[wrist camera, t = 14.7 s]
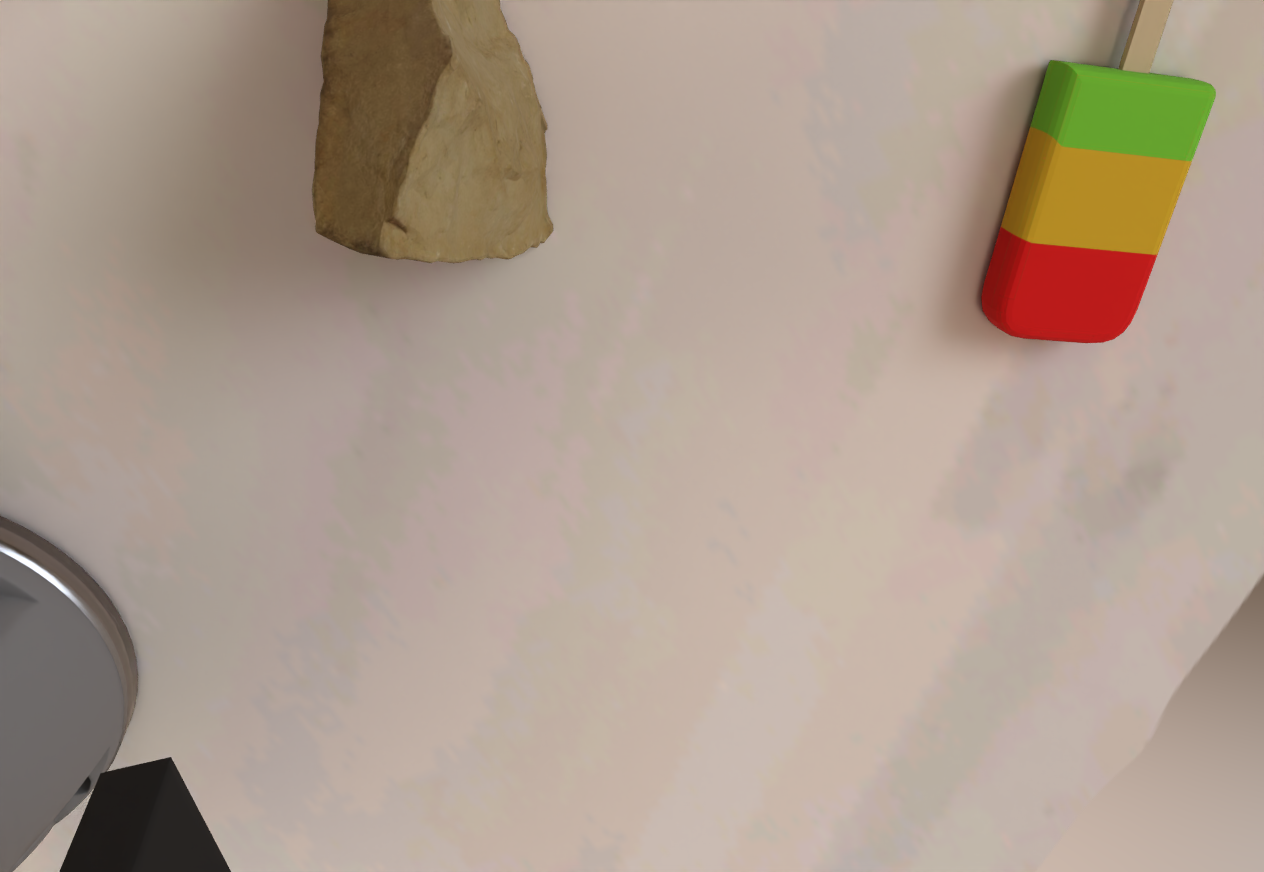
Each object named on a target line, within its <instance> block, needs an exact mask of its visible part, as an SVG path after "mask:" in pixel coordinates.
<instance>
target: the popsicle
mask: <svg viewBox="0 0 1264 872" xmlns="http://www.w3.org/2000/svg"><path fill="white" fill-rule="evenodd" d="M1172 3H1173V0H1140V3H1139V6H1138V9H1137V12H1136V15H1135V18H1134V21H1133V24H1132V28H1131V31H1130V34H1129V37H1128V40H1127V43H1126V46H1125V49H1124V52H1123V55H1122V58H1121V62H1120V65H1119V68H1118V69H1116V68H1108V67H1100V66H1093V65H1085V64H1078V63H1070V62H1063V61H1055V60H1050V62H1049V65H1048V68H1047V71H1046V75H1045V78H1044V82H1043V85H1042V88H1041V92H1040V95H1039V98H1038V102H1037V105H1036V109H1035V112H1034V115H1033V119H1032V122H1031V126H1030V129H1029V132H1028V136H1027V139H1026V143H1025V146H1024V149H1023V153H1022V156H1021V159H1020V163H1019V166H1018V170H1017V173H1016V176H1015V180H1014V183H1013V187H1012V190H1011V193H1010V197H1009V200H1008V204H1007V207H1006V210H1005V214H1004V217H1003V220H1002V224H1001V227H1000V231H999V234H998V238H997V241H996V244H995V248H994V251H993V254H992V258H991V261H990V265H989V268H988V271H987V275H986V278H985V282H984V286H983V291H982V297H981V299H982V309H983V312H984V314H985V315H986V317H987V318H988V320H989V321H990V322H991V323H992V324H993V325H995V326H996V327H997V328H999V329H1000V330H1002V331H1004V332H1005V333H1007V334H1009V335H1011V336H1015V337H1020V338H1026V339H1039V340H1052V341H1065V342H1078V343H1101V342H1106V341H1109V340H1112V339H1115V338H1116V337H1117V336H1119V335H1120V334H1122V333H1123V332H1124V331H1125V330H1126V328H1127V327H1128V326H1129V324H1130V323H1131V321H1132V319H1133V317H1134V315H1135V313H1136V311H1137V309H1138V306H1139V303H1140V301H1141V298H1142V295H1143V292H1144V290H1145V287H1146V284H1147V282H1148V279H1149V276H1150V273H1151V271H1152V268H1153V265H1154V263H1155V260H1156V257H1157V254H1158V252H1159V249H1160V246H1161V244H1162V241H1163V238H1164V235H1165V233H1166V230H1167V227H1168V225H1169V222H1170V219H1171V216H1172V214H1173V211H1174V208H1175V205H1176V203H1177V200H1178V197H1179V195H1180V192H1181V189H1182V186H1183V184H1184V181H1185V178H1186V176H1187V173H1188V170H1189V167H1190V165H1191V162H1192V159H1193V156H1194V154H1195V151H1196V148H1197V146H1198V143H1199V140H1200V137H1201V135H1202V132H1203V129H1204V127H1205V124H1206V121H1207V118H1208V116H1209V113H1210V110H1211V108H1212V105H1213V102H1214V99H1215V96H1216V91H1215V89H1214V87H1213V86H1212V85H1211V84H1208V83H1206V82H1203V81H1199V80H1195V79H1191V78H1183V77H1176V76H1168V75H1161V74H1153V73H1149V72H1150V69H1151V66H1152V63H1153V60H1154V57H1155V54H1156V51H1157V48H1158V45H1159V42H1160V39H1161V36H1162V33H1163V30H1164V27H1165V24H1166V21H1167V18H1168V15H1169V12H1170V9H1171V6H1172Z"/></svg>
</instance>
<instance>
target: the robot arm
mask: <svg viewBox="0 0 1264 872" xmlns="http://www.w3.org/2000/svg"><path fill="white" fill-rule="evenodd" d="M137 692H138V669H137V661H136V656H135V652H134V648H133V644H132V641H131V639H130V636H129V633H128V631H127V628H126V626H125V624H124V622H123V620H122V619H121V617H120V615H119V613H118V611H117V610H116V608H115V607H114V605H113V604H112V602H111V601H110V599H109V598H108V596H107V595H106V594H105V593H104V591H103V590H102V589H101V588H100V587H99V585H98V584H97V583H96V582H95V581H94V580H93V579H92V578H91V577H90V576H89V575H88V574H87V573H86V572H85V571H84V570H83V569H82V568H81V567H80V566H79V565H78V564H77V563H75V562H74V561H73V560H72V559H71V558H69V557H68V556H67V555H66V554H65V553H63V552H62V551H60V550H59V549H58V548H56V547H55V546H53V545H52V544H51V543H49V542H48V541H46V540H45V539H43V538H41V537H40V536H38V535H36V534H35V533H33V532H31V531H30V530H28V529H26V528H24V527H22V526H20V525H18V524H16V523H14V522H12V521H10V520H8V519H6V518H3V517H1V516H0V872H13V871H14V870H15V869H16V868H17V867H18V866H19V865H20V864H21V863H22V862H23V861H24V860H25V859H26V858H27V857H28V856H29V855H30V854H31V852H32V851H33V850H34V849H35V848H36V847H37V846H38V845H39V844H40V843H41V841H42V840H43V839H44V838H45V837H46V835H47V834H48V833H49V831H50V830H51V828H52V827H53V825H55V824H56V823H58V822H59V821H60V820H62V819H63V818H64V817H66V816H67V815H68V814H69V813H70V812H71V811H73V810H74V809H75V808H76V807H77V806H78V805H79V804H80V803H81V802H82V801H83V800H84V799H85V798H86V797H87V795H88V794H89V793H90V792H91V791H92V790H93V788H94V787H95V788H94V790H93V792H92V795H91V797H90V800H89V802H88V804H87V807H86V809H85V812H84V814H83V816H82V819H81V821H80V824H79V826H78V828H77V831H76V833H75V836H74V838H73V840H72V843H71V845H70V848H69V850H68V852H67V855H66V857H65V860H64V862H63V864H62V867H61V869H60V872H231V871H230V869H229V867H228V865H227V863H226V861H225V859H224V857H223V855H222V854H221V852H220V850H219V848H218V846H217V844H216V842H215V840H214V838H213V836H212V834H211V833H210V831H209V829H208V827H207V825H206V823H205V821H204V819H203V817H202V815H201V813H200V812H199V810H198V808H197V806H196V804H195V802H194V800H193V798H192V796H191V794H190V792H189V791H188V789H187V787H186V785H185V783H184V781H183V779H182V777H181V775H180V773H179V771H178V770H177V768H176V766H175V764H174V762H173V760H172V758H171V757H169V758H165V759H160V760H156V761H152V762H147V763H143V764H139V765H134V766H130V767H125V768H121V769H117V770H112V771H108V772H107V770H108V769H109V767H110V766H111V764H112V762H113V761H114V759H115V756H116V754H117V752H118V750H119V747H120V745H121V743H122V740H123V738H124V735H125V733H126V730H127V728H128V726H129V723H130V721H131V718H132V715H133V711H134V708H135V705H136V699H137Z"/></svg>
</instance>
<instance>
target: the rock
mask: <svg viewBox="0 0 1264 872" xmlns="http://www.w3.org/2000/svg"><path fill="white" fill-rule="evenodd" d="M321 61H322V68H323V79H324V82H323V86H322V90H321V93H320V111H319V125H318V129H317V136H316V146H315V172H314V179H313V186H312V198H313V209H314V215H315V220H316V223H315V229H316V232H317V233H318V234H320V235H322V236H324V237H326V238H328V239H330V240H332V241H334V242H336V243H338V244H340V245H343V246H345V247H347V248H349V249H351V250H354V251H357V252H359V253H362V254H368V255H373V256H379V257H384V258H389V259H396V260H398V259H409V260H416V261H421V262H427V263H433V262H436V261H441V262H448V263H460V262H464V261H468V260H474V259H477V260H482V259H484V258H502V259H511V258H513V257H515V256H517V255H519V254H522V253H524V252H525V251H526V250H527V249H528V248H530V247H535V248H537V247H538V246H539V244H540V243H544V242H545V241H546V239H547V238H548V237H549V236H550V234H551V233H552V232H553V224H552V222H551V220H550V218H549V216H548V213H547V189H546V176H545V167H546V158H547V153H546V143H545V135H544V133H545V131H546V130H547V123H546V121H545V118H544V115H543V113H542V110H541V106H540V104H539V101H538V98H537V95H536V92H535V87H534V84H533V77H532V74H531V71H530V67H529V65H528V63H527V62H526V61H525V60H524V58H523V55H522V53H521V50H520V45H519V43H518V41H517V39H516V37H515V35H514V34H513V33H511V32H510V31H509V30H508V27H507V24H506V21H505V18H504V16H503V14H502V11H501V9H500V0H328V13H327V21H326V23H325V27H324V35H323V43H322V51H321Z"/></svg>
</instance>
